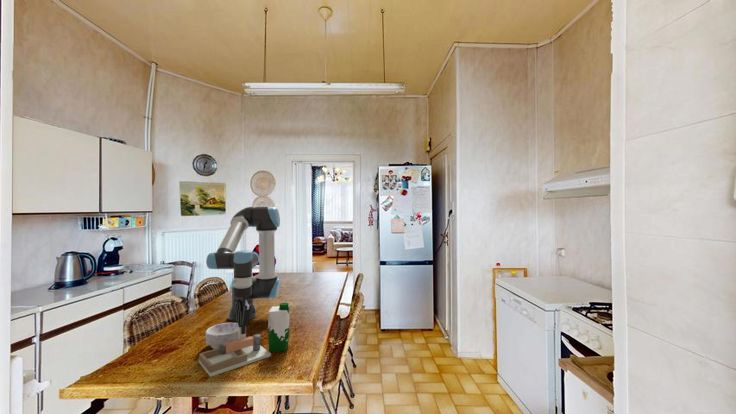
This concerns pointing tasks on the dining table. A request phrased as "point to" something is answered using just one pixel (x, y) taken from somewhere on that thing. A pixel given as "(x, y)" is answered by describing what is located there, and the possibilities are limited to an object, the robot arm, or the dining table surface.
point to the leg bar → (239, 344)
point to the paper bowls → (221, 334)
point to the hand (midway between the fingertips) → (242, 340)
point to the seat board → (231, 359)
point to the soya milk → (278, 328)
